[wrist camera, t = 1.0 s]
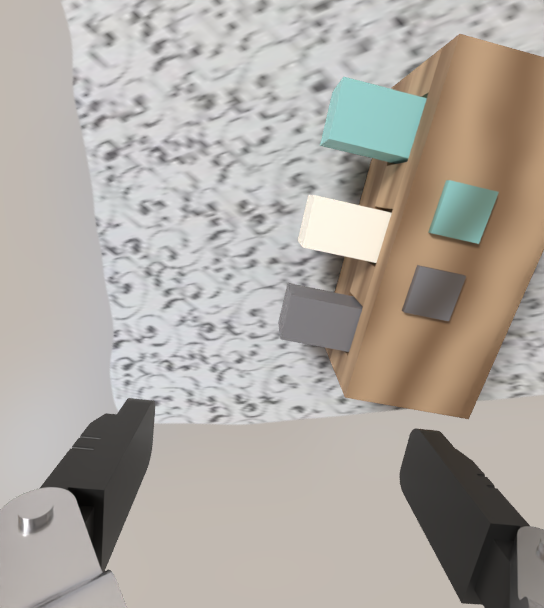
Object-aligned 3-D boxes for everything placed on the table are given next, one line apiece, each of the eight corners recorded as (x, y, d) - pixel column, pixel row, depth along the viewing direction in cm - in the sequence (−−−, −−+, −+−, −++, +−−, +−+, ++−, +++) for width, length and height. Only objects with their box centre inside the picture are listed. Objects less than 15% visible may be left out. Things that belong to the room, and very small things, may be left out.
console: (321, 339, 41) (346, 400, 29) (391, 88, 33) (464, 30, 21) (411, 356, 42) (471, 422, 30) (499, 116, 34) (626, 76, 22)
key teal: (320, 145, 29) (328, 138, 26) (332, 92, 28) (343, 76, 24) (433, 172, 30) (457, 170, 26) (449, 122, 29) (478, 111, 25)
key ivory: (297, 240, 32) (302, 247, 28) (308, 194, 31) (315, 195, 27) (403, 263, 33) (421, 272, 29) (417, 219, 31) (439, 223, 28)
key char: (278, 322, 34) (280, 339, 30) (287, 282, 33) (291, 295, 29) (377, 341, 35) (391, 360, 31) (389, 303, 34) (406, 318, 30)
